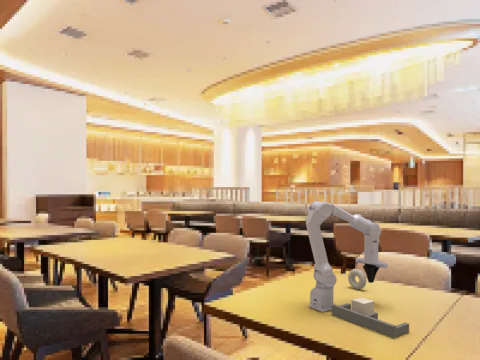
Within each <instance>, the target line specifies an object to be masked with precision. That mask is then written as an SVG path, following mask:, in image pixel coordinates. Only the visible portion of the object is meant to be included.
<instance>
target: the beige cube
mask: <svg viewBox="0 0 480 360" xmlns="http://www.w3.org/2000/svg"><path fill="white" fill-rule="evenodd" d="M351 310H353V311H355V312H358V313H361V314H364V315H367V314H370V313H373V312H375V300H371V299H369V298H365V297H358V298H354V299H351Z"/></svg>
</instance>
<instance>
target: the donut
mask: <svg viewBox="0 0 480 360" xmlns="http://www.w3.org/2000/svg"><path fill="white" fill-rule="evenodd" d="M364 272H365V271H364ZM364 272H363V270H361V269H360V268H353V269H351V270H350V271H349V273H348V275H347V280H348V283H349V285H350V286H351V288H352V289H355V290H358V291H360V290H363V289H364V288H365V287H366V285H367V282H368V279H367V275H366V273H364ZM356 277H358V280H359V281H358V282H357V280H356Z"/></svg>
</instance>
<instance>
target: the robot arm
mask: <svg viewBox="0 0 480 360" xmlns="http://www.w3.org/2000/svg"><path fill="white" fill-rule="evenodd" d="M307 212H308V213H307V216H306V221H305V225H306V230H307V234H308V239H309V244H310V246H311V247H310V248H311V252H312V255H313V260H314V263H315V264H314V266H313V279H314V281H315V286H314V287H313V288H311V290H310V293H309V305H308V308H311V309H314V310H316V311H319V312H321V313H324V312H328V311H332V305H334V293H335V291H334V288H335V285H336V284H337V282H338V281H337V280H338V279H337V275H336V274H335V273H334V271H333V268H332V266H331V265H330V263H329V260H328V256H327V252H326V251H327V250H326V248H325V243H324V238H323V235H322V231H321V225H322V224H323V222H325V221H326V220H327V219H328V218H330V216H336V217H338V218H340V219H342V220H344V221H346V222H348V223H349V226H350V227H352V228H353V229H355V230H357V231H358V232H361V234H363V235H364V237H363V238H364V246H363V247H364V248H363V249H364V250H363V251H364V252H363V256H364V257H362V258H361V257H356V258H355V263H357V264H363V265H362V268H363V270H364V272H365V276H366V280H367V282H368V283H369V284H372V283H375V278H376V276H377V273H378V271H379V269H380V268H381V269H384V270H385V269H388V267H389V266H388V263H385V262H382V261H380V260H379V240H380V235H382V229H381V227H380V225H379V223H375V222H372V220H371V219H366V218H365V217H363V214H360V213H358V214H356V213H355V214H352V213H350V212H347V211H346V210H344V209H343V208H340V206H337V205H335V204H332V203H330V202H327V201H318V200H315V201H312V203H310V205H309V206H308V208H307Z"/></svg>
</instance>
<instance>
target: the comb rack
mask: <svg viewBox="0 0 480 360" xmlns="http://www.w3.org/2000/svg"><path fill="white" fill-rule="evenodd" d="M331 316H334V317H336V318H339V319H341V320H343V321H346V322H350V323H351V324H355V325H356V324H357V326H360V327H362V328H364V327H365V329H367V328H368V330H370V329H371V330H370V331H372V330H373V331H372V332H375V331H376V332H375V333H377V332H378V333H377V334H380V333H381V334H380V335H383V334H384V335H383V336H385V335H386V337H388V336H389V337H388V338H390V337H391V339H395V337H396V338H399V337H400V336H401V337H402V336H403V335H405V334H409V333H410V323H408V322H403V323H399V324H397V325H395V324H392V323H389V322H386V321H384V320H381V319H379V313H378V312H375V311H374V312H373V313H370V314H367V315H364V314H361V313H358V312H355V311H353V310H352V303H348V302H347V303H343V304H339V305H338V304H335V303H333V305H332V310H331Z"/></svg>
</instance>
